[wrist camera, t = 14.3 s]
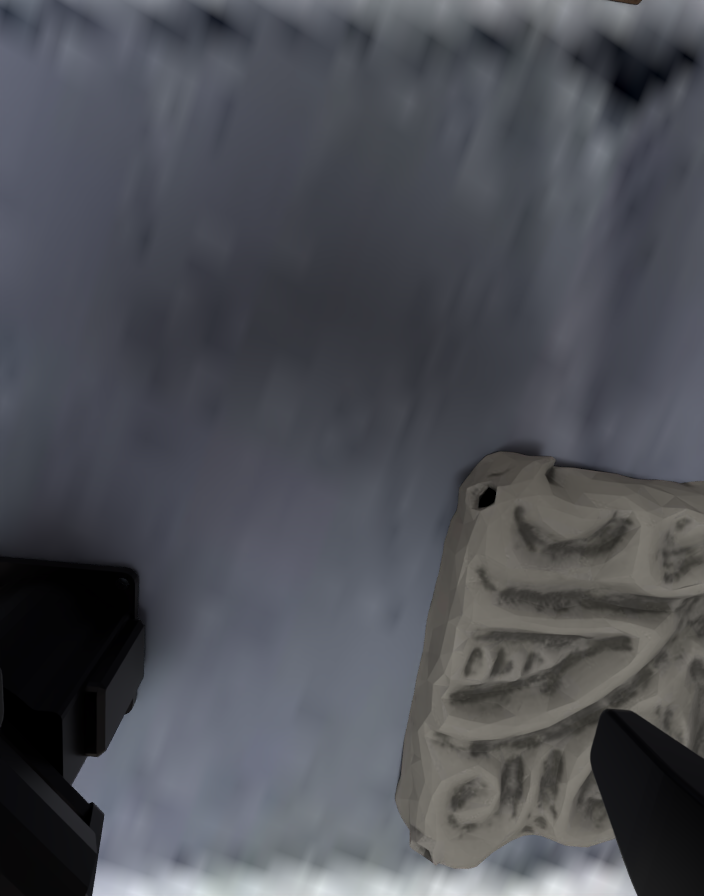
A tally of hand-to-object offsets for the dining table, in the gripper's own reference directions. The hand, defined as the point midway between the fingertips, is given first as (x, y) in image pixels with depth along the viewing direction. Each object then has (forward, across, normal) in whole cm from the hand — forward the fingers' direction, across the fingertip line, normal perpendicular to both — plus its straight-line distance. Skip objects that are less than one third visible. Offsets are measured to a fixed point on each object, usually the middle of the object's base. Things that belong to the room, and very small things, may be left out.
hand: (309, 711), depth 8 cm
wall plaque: (+14, -17, +8) cm, 23 cm away
